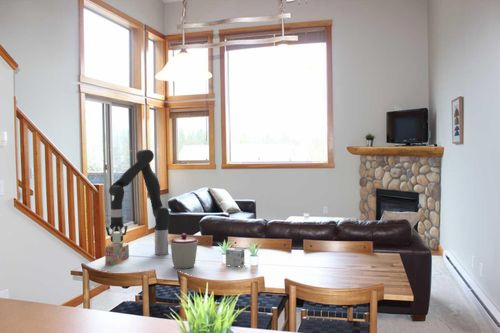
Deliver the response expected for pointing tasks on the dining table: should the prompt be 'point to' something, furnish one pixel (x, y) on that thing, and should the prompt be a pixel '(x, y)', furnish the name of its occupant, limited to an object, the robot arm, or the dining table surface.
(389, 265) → the dining table surface
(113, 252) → the stack of blocks
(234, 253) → the light bulb box
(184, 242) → the canister
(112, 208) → the robot arm
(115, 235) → the sage block
